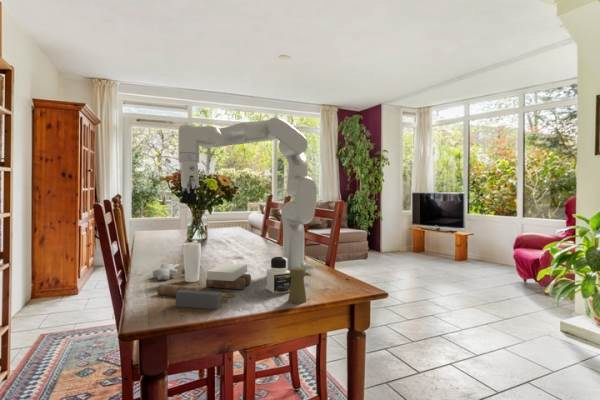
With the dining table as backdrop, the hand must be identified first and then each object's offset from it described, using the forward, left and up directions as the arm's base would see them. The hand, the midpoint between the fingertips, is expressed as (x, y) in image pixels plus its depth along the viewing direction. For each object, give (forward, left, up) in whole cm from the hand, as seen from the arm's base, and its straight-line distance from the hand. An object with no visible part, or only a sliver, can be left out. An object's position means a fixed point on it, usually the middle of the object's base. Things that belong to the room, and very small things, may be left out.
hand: (188, 203), depth 131 cm
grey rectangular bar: (-15, +21, -31) cm, 41 cm away
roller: (-3, +13, -31) cm, 34 cm away
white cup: (+2, -5, -31) cm, 32 cm away
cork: (-44, +9, -31) cm, 55 cm away
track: (-15, +4, -31) cm, 35 cm away
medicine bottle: (-35, -1, -31) cm, 47 cm away
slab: (-15, -1, -27) cm, 31 cm away
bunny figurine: (+15, -9, -32) cm, 36 cm away
